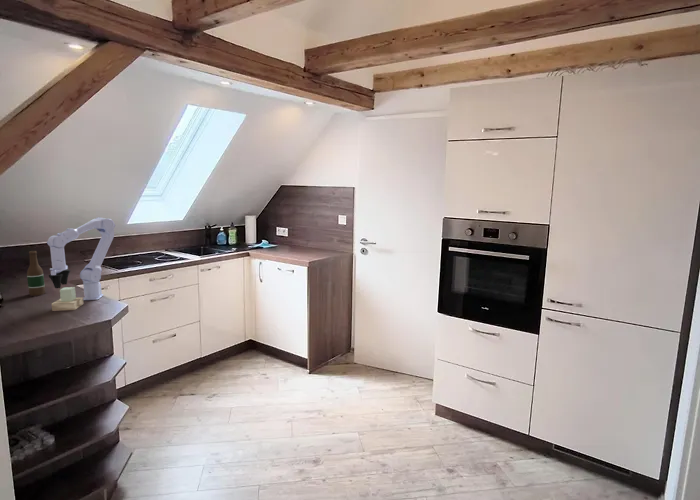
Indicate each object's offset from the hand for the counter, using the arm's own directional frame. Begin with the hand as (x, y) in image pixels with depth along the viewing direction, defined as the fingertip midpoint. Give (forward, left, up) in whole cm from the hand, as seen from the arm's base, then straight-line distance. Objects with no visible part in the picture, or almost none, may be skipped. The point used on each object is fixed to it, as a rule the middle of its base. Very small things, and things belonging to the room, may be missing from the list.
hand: (61, 286), depth 218 cm
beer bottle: (-25, -22, -10) cm, 35 cm away
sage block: (+4, +4, -6) cm, 9 cm away
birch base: (+4, +4, -10) cm, 12 cm away
